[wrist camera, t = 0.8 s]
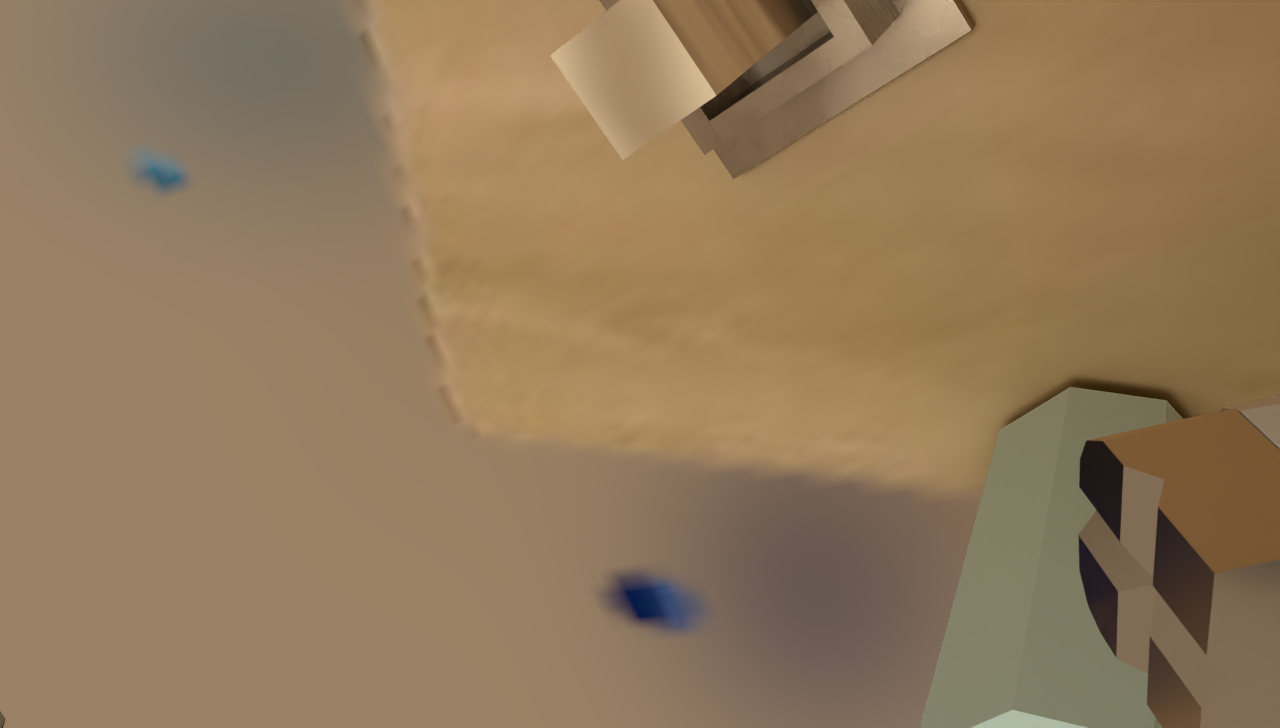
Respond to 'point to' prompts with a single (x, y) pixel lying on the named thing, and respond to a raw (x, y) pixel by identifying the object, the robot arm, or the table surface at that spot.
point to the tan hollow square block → (820, 73)
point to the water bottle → (1038, 584)
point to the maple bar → (669, 59)
